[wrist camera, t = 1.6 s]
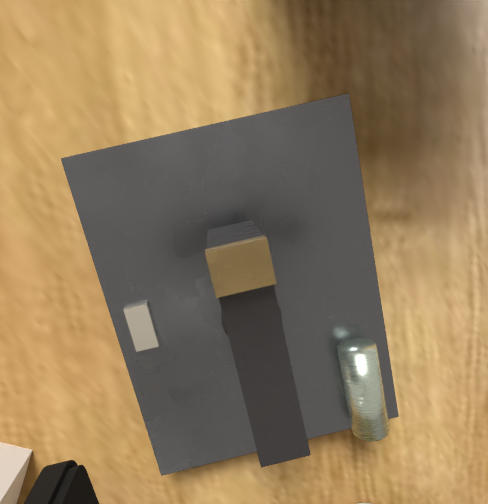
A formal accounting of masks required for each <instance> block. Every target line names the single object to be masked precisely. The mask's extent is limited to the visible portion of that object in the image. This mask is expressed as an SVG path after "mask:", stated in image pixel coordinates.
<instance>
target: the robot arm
mask: <svg viewBox="0 0 488 504" xmlns="http://www.w3.org/2000/svg"><path fill="white" fill-rule="evenodd" d="M24 504H99V502H98V500H97V497H96V494H95V492H94V489H93V487H92V484H91V481H90V479H89V476H88V474H87V471H86V469H85V467H84V466H83V465H79V466H78V465H77V463H76V462H75V461H74V460H69V461H65V462H61V463H57V464H53V465H48V466H46V467H44V468H43V470H42V471H41V473H40V475H39V477H38V478H37V480H36V482H35V484H34V486H33V488H32V490H31V491H30V493H29V495H28V497H27V499H26V501H25V502H24Z"/></svg>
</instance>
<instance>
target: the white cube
mask: <svg viewBox="0 0 488 504" xmlns="http://www.w3.org/2000/svg"><path fill="white" fill-rule="evenodd" d="M31 454H32V450H30V449H26V448H22V447H18V446H14V445H10V444H6V443H2V442H0V504H17V501H18V498H19V494H20V491H21V488H22V484H23V481H24V478H25V474H26V471H27V467H28V464H29V461H30V457H31Z"/></svg>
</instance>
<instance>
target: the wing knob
mask: <svg viewBox="0 0 488 504" xmlns="http://www.w3.org/2000/svg"><path fill="white" fill-rule="evenodd" d="M205 256H206V260H207V264H208V268H209V272H210V276H211V280H212V283H213V287H214V291H215V295H216V298H219V301H220V305H221V320H222V326H223V329H224V331H225V333H226V335H227V336H228V337H229V341H230V345H231V349H232V353H233V357H234V361H235V365H236V369H237V373H238V377H239V381H240V385H241V389H242V393H243V397H244V401H245V405H246V409H247V413H248V417H249V421H250V425H251V429H252V433H253V437H254V441H255V445H256V449H257V453H258V457H259V461H260V465H261V467H265V466H269V465H273V464H277V463H281V462H285V461H289V460H293V459H297V458H301V457H305V456H309V455H310V450H309V446H308V441H307V436H306V432H305V427H304V422H303V418H302V413H301V408H300V404H299V399H298V394H297V390H296V385H295V381H294V376H293V371H292V367H291V362H290V357H289V353H288V348H287V343H286V339H285V334H284V329H283V325H282V320H281V319H282V315H281V310H280V307H279V305H278V302H277V297H276V292H275V288H274V284H277V283H276V278H275V273H274V269H273V264H272V259H271V255H270V250H269V245H268V241H267V238H266V236H265V235H264V236H263V234H262V233H261V232H260V230H259V229H258V227H257V226H256V225H255V223H254V222H253V220H249V221H245V222H241V223H236V224H232V225H228V226H224V227H219V228H215V229H211V230H208V233H207V249H205Z"/></svg>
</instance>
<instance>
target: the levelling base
mask: <svg viewBox="0 0 488 504" xmlns="http://www.w3.org/2000/svg"><path fill="white" fill-rule="evenodd" d="M61 161H62V164H63V167H64V170H65V174H66V177H67V180H68V183H69V186H70V189H71V192H72V196H73V199H74V202H75V205H76V208H77V211H78V214H79V218H80V221H81V224H82V227H83V230H84V233H85V236H86V240H87V243H88V246H89V249H90V252H91V255H92V259H93V262H94V265H95V268H96V271H97V274H98V277H99V281H100V284H101V287H102V290H103V293H104V296H105V299H106V303H107V306H108V309H109V312H110V315H111V318H112V321H113V325H114V328H115V331H116V334H117V337H118V340H119V344H120V347H121V350H122V353H123V356H124V359H125V362H126V366H127V369H128V372H129V375H130V378H131V381H132V384H133V388H134V391H135V394H136V397H137V400H138V403H139V406H140V410H141V413H142V416H143V419H144V422H145V425H146V429H147V432H148V435H149V438H150V441H151V444H152V447H153V451H154V454H155V457H156V460H157V463H158V466H159V469H160V473H161V476H162V475H166V474H170V473H174V472H178V471H182V470H186V469H190V468H194V467H198V466H202V465H206V464H210V463H214V462H218V461H222V460H226V459H230V458H234V457H238V456H242V455H246V454H250V453H254V452H257V449H256V445H255V441H254V437H253V433H252V429H251V425H250V421H249V417H248V413H247V409H246V405H245V401H244V397H243V393H242V389H241V385H240V381H239V377H238V373H237V369H236V365H235V361H234V357H233V353H232V349H231V345H230V341H229V337H228V336H227V335H226V333H225V331H224V329H223V326H222V320H221V305H220V301H219V298H216V295H215V291H214V287H213V283H212V280H211V276H210V272H209V268H208V264H207V260H206V256H205V249H207V233H208V230H211V229H215V228H219V227H224V226H228V225H232V224H236V223H241V222H245V221H249V220H253V222H254V223H255V225H256V226H257V227H258V229H259V230H260V232H261V233H262V234H263V236H264V235H265V236H266V238H267V241H268V245H269V250H270V255H271V259H272V264H273V269H274V273H275V278H276V283H277V284H274V288H275V292H276V297H277V302H278V305H279V307H280V310H281V315H282V319H281V320H282V325H283V329H284V334H285V339H286V343H287V348H288V353H289V357H290V362H291V367H292V371H293V376H294V381H295V385H296V390H297V394H298V399H299V404H300V408H301V413H302V418H303V422H304V427H305V432H306V436H307V439H310V438H314V437H318V436H322V435H326V434H330V433H334V432H338V431H342V430H346V429H350V428H352V432H353V434H354V435H355V436H356V437H357V438H359V439H361V440H364V441H378V440H381V439H383V438H385V437H386V436H387V435H388V433H389V430H390V428H389V422H388V419H391V418H395V417H399V416H398V410H397V403H396V397H395V390H394V384H393V377H392V371H391V364H390V358H389V351H388V345H387V338H386V332H385V325H384V319H383V312H382V306H381V299H380V293H379V286H378V280H377V273H376V267H375V260H374V253H373V247H372V240H371V234H370V227H369V221H368V214H367V208H366V201H365V195H364V188H363V182H362V175H361V169H360V162H359V156H358V149H357V143H356V136H355V130H354V123H353V117H352V110H351V104H350V97H349V94H344V95H340V96H335V97H331V98H326V99H322V100H318V101H313V102H309V103H304V104H300V105H295V106H291V107H287V108H282V109H278V110H273V111H269V112H264V113H260V114H256V115H251V116H247V117H242V118H238V119H233V120H229V121H225V122H220V123H216V124H211V125H207V126H202V127H198V128H194V129H189V130H185V131H180V132H176V133H171V134H167V135H163V136H158V137H154V138H149V139H145V140H140V141H136V142H132V143H127V144H123V145H118V146H114V147H109V148H105V149H101V150H96V151H92V152H87V153H83V154H78V155H74V156H69V157H65V158H61Z"/></svg>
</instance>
